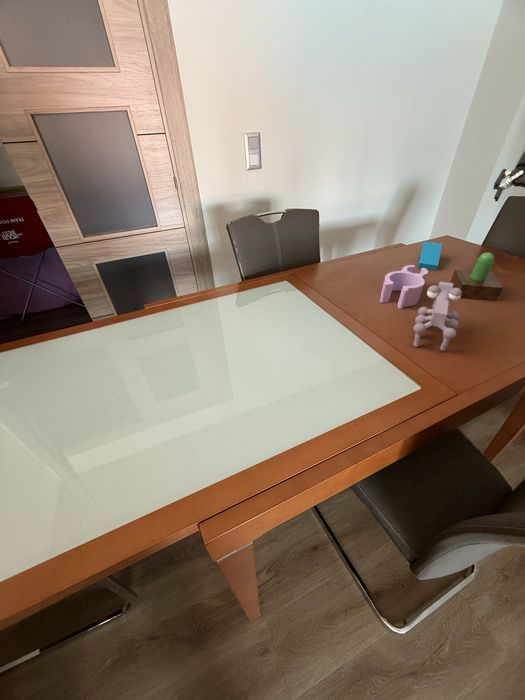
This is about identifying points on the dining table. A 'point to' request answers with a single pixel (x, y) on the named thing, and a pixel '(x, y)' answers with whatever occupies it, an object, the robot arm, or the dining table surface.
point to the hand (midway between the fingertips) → (511, 201)
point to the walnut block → (476, 286)
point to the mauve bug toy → (439, 313)
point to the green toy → (482, 267)
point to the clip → (404, 285)
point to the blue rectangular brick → (430, 255)
